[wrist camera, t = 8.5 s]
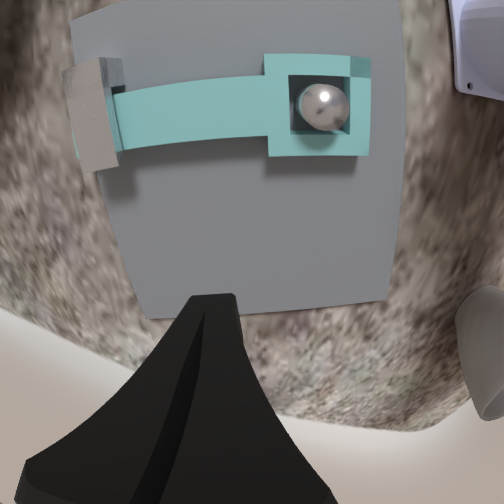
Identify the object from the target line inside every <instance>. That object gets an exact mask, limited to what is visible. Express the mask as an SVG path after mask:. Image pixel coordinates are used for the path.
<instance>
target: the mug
mask: <svg viewBox="0 0 504 504" xmlns="http://www.w3.org/2000/svg"><path fill="white" fill-rule="evenodd" d="M455 325H456V329H457V345H458V353H459V359H460V363H461V368H462V371H463V375H464V378H465V382H466V385H467V388H468V390H469V393H470V396H471V398H472V400H473V403H474V405H475V408H476V410H477V413H478V415H479V416H480V418H481V419H483V420H484V421H491V420H495V419H498V418H500V417H502V416H504V291H502V290H500V289H499V288H497V287H496V286H494V285H484V286H482V287H479V288H478V289H476V290H474V291H473V292H472V293H471V294H469V295H468V296H467V297H466V298H465V299H464V301H463V302H462V303H461V305H460V306H459V308H458V310H457V312H456V315H455Z"/></svg>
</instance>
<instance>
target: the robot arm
mask: <svg viewBox="0 0 504 504" xmlns="http://www.w3.org/2000/svg"><path fill="white" fill-rule="evenodd" d="M448 2H449V10H450V17H451V26H452V37H453V50H454V70H455V87H456V89H457V90H458V91H459V92H462V93H467V94H473V95H478V96H483V97H488V98H493V99H497V100H502V101H504V0H448ZM468 83H469V85H470V88H469V89H468V88H467V84H468ZM14 500H15V502H16V503H17V504H338V502H337V501H336V499H335V497H334V496H333V494H332V492H331V490H330V488H329V487H328V486H327V485H326V483H325V482H324V481H323V480H322V479H321V478H320V476H319V475H318V474H317V473H316V471H315V470H314V469H313V468H312V467H311V465H310V464H309V463H308V461H307V460H306V459H305V457H304V456H303V455H302V453H301V452H300V451H299V449H298V448H297V446H296V445H295V444H294V442H293V441H292V439H291V437H290V436H289V434H288V433H287V432H286V430H285V428H284V427H283V425H282V423H281V422H280V420H279V419H278V417H277V416H276V414H275V412H274V410H273V409H272V407H271V405H270V403H269V401H268V400H267V398H266V396H265V394H264V392H263V390H262V388H261V386H260V384H259V382H258V380H257V377H256V375H255V373H254V371H253V368H252V366H251V363H250V361H249V359H248V356H247V353H246V351H245V348H244V345H243V334H242V329H241V323H240V318H239V312H238V306H237V301H236V296H235V295H234V294H232V293H221V294H206V295H192V296H191V297H190V298H189V299H188V301H187V302H186V304H185V305H184V307H183V308H182V310H181V311H180V313H179V314H178V316H177V317H176V319H175V320H174V322H173V323H172V325H171V326H170V327H169V329H168V330H167V332H166V333H165V334H164V336H163V337H162V339H161V340H160V341H159V343H158V344H157V346H156V347H155V348H154V350H153V351H152V352H151V353H150V355H149V356H148V357H147V358H146V360H145V361H144V362H143V363H142V365H141V366H140V367H139V368H138V370H137V371H136V372H135V373H134V374H133V376H132V377H131V378H130V379H129V380H128V381H127V382H126V383H125V384H124V385H123V386H122V387H121V388H120V389H119V391H118V392H117V393H116V394H115V395H114V396H113V397H112V398H110V399H109V400H108V401H107V402H106V403H105V404H104V405H103V406H102V407H101V408H100V409H98V411H96V412H95V413H94V414H93V415H92V416H91V417H90V418H88V419H87V420H86V421H85V422H83V423H82V424H81V425H79V426H78V427H77V428H76V429H74V430H73V431H72V432H70V433H69V434H68V435H66V436H65V437H64V438H62V439H60V440H59V441H57V442H56V443H55V444H53V445H51V446H50V447H48V448H46V449H45V450H43V451H41V452H40V453H38V454H36V455H34V456H33V457H31V458H29V459H27V460H26V462H25V465H24V468H23V471H22V474H21V477H20V480H19V484H18V487H17V490H16V494H15V498H14ZM0 504H2V503H0Z"/></svg>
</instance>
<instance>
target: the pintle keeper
mask: <svg viewBox="0 0 504 504" xmlns="http://www.w3.org/2000/svg"><path fill="white" fill-rule="evenodd" d="M62 76H63V83H64V89H65V95H66V100H67V106H68V111H69V116H70V121H71V126H72V130H73V135H74V139H75V144H76V148H77V152H78V156H79V160H80V164H81V168H82V172H83V174H85V173H89V172H94V171H98V170H103V169H108V168H112V167H117V166H120V165H121V164H122V163H123V162H125V159H124V154H123V150H122V145H121V140H120V136H119V131H118V126H117V121H116V115H115V110H114V104H113V99H112V93H111V89H112V88H115V87H119V86H123V85H126V84H125V78H124V71H123V64H122V58H111V57H97V58H94V59H91V60H89V61H86V62H83V63H80V64H78V65H75V66H73V67H70V68H68V69H65V70H63V71H62ZM294 106H295V109H296V111H297V112H298V114H299V115H300V116H301V117H302V118H303V119H305V120H306V121H307V122H308V123H309V124H310V125H311V126H313V127H314V128H316V129H319V130H323V131H331V130H334V129H337V128H339V127H340V126H342V125H343V124H344V122H345V121H346V120H347V118H348V115H349V102H348V99H347V97H346V95H345V94H344V93H343V92H342V91H341V90H340V89H338V88H337V87H335V86H332V85H326V84H319V83H309V84H306V85H304V86H302V87H301V88H300V89H299V90H298V91H297V93H296V95H295V98H294Z"/></svg>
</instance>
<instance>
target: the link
mask: <svg viewBox="0 0 504 504" xmlns="http://www.w3.org/2000/svg"><path fill="white" fill-rule="evenodd" d="M263 66H264V75H260V76H241V77H227V78H216V79H206V80H197V81H189V82H182V83H175V84H168V85H162V86H156V87H150V88H144V89H139V90H134V91H129V92H124V93H120V94H115V95H112V99H113V104H114V110H115V115H116V121H117V126H118V131H119V136H120V140H121V145H122V150H126V149H133V148H139V147H146V146H153V145H161V144H169V143H178V142H187V141H196V140H207V139H219V138H233V137H249V136H267V147H268V155H269V157H272V156H312V155H343V156H369V141H370V115H371V58H365V57H355V56H343V55H327V54H264V55H263ZM288 75H325V76H343V93H344V94H345V95H346V97H347V99H348V102H349V115H348V118H347V120H346V121H345V122H344V124H343V131H338V130H331V131H323V130H290V111H289V83H288ZM71 127H72V126H71ZM72 132H73V130H72ZM73 138H74V135H73ZM74 143H75V139H74ZM75 148H76V144H75ZM76 153H77V158H79V156H78V152H77V148H76Z"/></svg>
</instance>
